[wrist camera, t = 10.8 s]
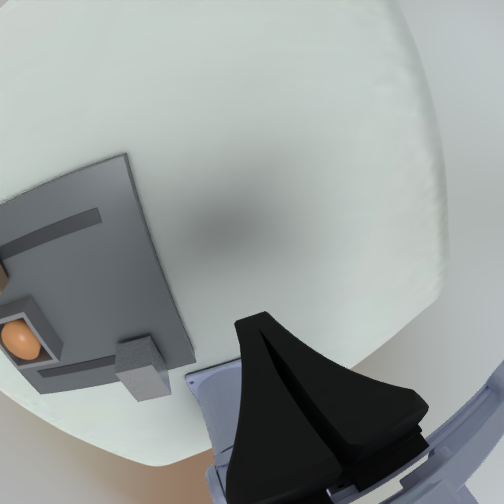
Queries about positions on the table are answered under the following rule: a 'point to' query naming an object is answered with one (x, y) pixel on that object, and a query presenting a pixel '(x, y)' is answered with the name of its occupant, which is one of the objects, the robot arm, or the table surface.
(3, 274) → the birch slider
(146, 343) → the steel slider
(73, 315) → the control panel
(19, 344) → the push button
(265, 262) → the table surface
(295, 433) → the robot arm
